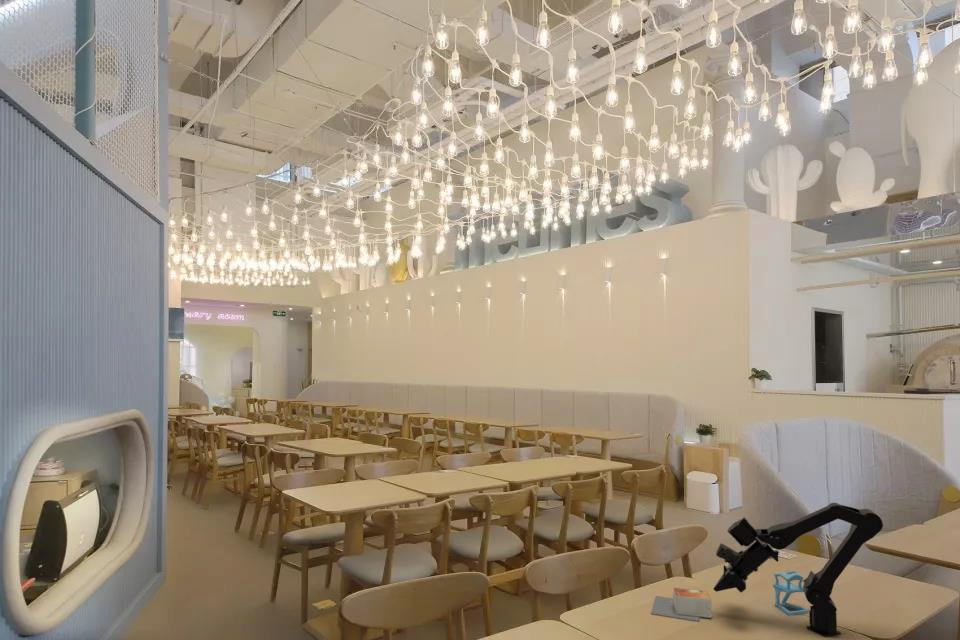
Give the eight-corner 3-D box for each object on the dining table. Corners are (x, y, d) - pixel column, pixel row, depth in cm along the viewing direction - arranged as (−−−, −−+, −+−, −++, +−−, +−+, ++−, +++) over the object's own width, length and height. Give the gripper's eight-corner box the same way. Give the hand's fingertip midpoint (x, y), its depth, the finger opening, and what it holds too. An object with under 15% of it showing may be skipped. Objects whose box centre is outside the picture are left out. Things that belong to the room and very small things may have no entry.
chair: (788, 603, 202) (787, 565, 203) (808, 613, 195) (808, 573, 195) (769, 605, 200) (768, 567, 201) (789, 615, 192) (788, 575, 193)
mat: (700, 603, 200) (700, 602, 201) (699, 621, 186) (699, 620, 186) (655, 596, 206) (655, 595, 206) (651, 614, 191) (651, 613, 191)
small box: (712, 599, 188) (675, 595, 190) (712, 618, 188) (675, 614, 190) (707, 590, 196) (673, 586, 198) (707, 608, 196) (673, 605, 198)
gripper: (731, 529, 200) (695, 560, 203) (733, 544, 183) (693, 577, 186) (758, 557, 197) (722, 588, 200) (762, 575, 179) (722, 609, 182)
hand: (714, 590), depth 192 cm, fingers closed
